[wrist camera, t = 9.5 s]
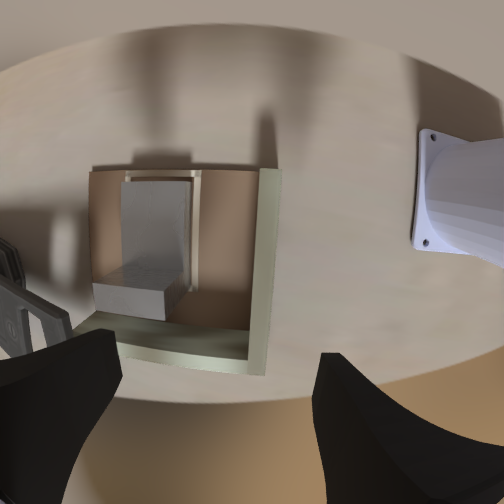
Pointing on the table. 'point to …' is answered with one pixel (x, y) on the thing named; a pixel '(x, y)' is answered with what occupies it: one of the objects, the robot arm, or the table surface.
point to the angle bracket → (150, 251)
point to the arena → (199, 270)
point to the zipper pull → (25, 309)
